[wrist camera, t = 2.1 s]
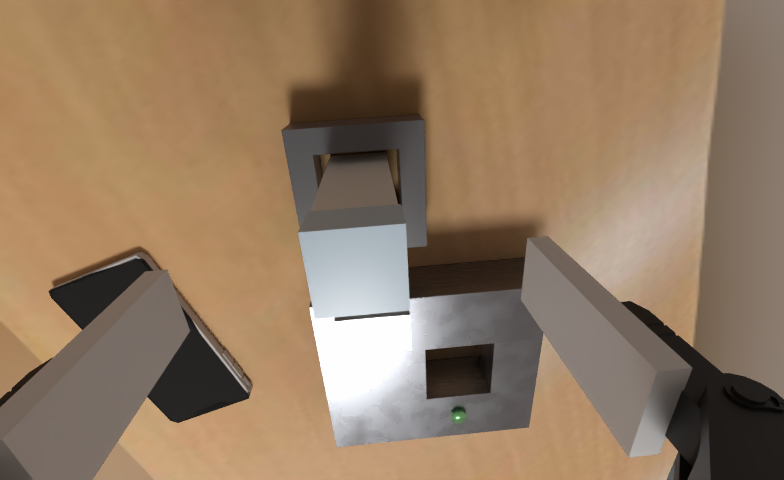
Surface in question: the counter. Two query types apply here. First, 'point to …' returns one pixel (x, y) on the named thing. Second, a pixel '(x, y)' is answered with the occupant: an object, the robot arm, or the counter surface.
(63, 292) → the smartphone
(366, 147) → the grey square ring
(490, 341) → the panel
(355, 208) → the plug
